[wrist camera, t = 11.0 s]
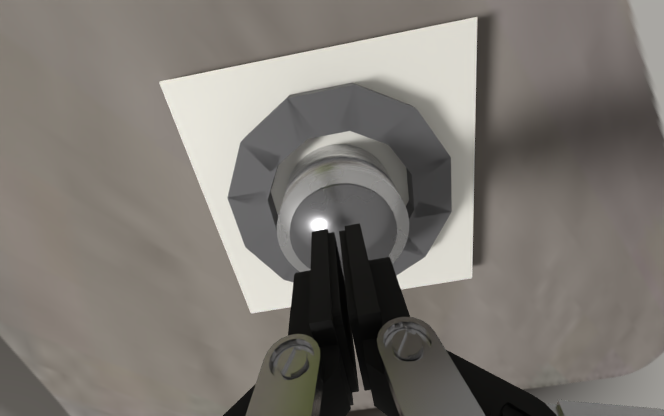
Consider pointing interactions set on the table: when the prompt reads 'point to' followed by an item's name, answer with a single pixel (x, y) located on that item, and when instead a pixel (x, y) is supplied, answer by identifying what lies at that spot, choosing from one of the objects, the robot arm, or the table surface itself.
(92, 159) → the table surface
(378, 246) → the cap
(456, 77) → the mounted pipe fitting
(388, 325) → the robot arm
